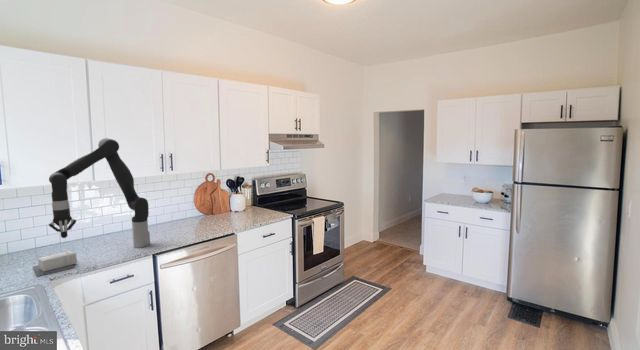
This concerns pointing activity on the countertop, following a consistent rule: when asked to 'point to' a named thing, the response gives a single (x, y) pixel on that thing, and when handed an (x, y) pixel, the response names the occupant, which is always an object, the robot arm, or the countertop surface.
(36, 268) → the mat
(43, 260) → the skincare box
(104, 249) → the countertop surface
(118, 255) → the countertop surface
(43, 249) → the countertop surface
